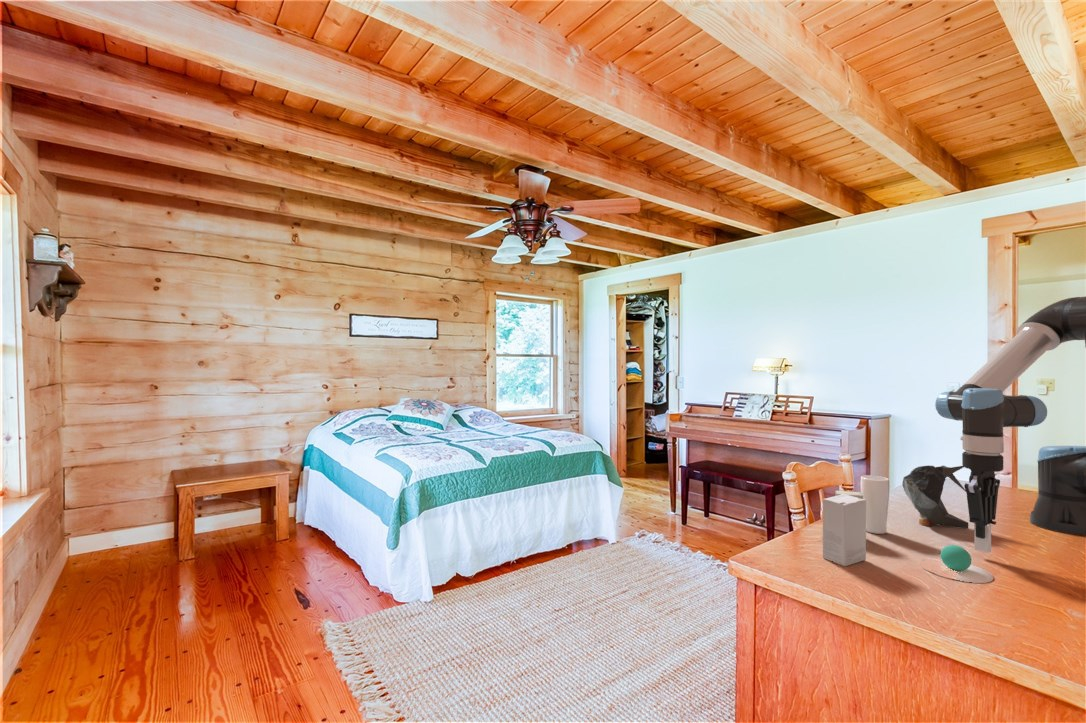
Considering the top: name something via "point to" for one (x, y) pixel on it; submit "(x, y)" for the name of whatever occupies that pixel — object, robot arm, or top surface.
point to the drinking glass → (875, 502)
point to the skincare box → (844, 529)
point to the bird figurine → (931, 495)
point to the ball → (955, 557)
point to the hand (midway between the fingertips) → (982, 550)
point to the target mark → (974, 575)
